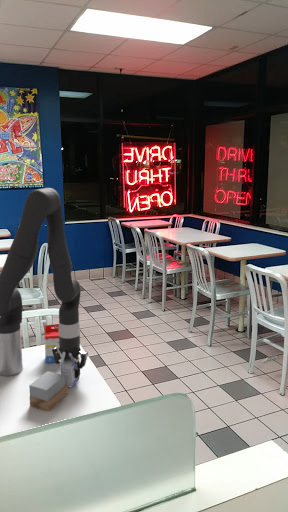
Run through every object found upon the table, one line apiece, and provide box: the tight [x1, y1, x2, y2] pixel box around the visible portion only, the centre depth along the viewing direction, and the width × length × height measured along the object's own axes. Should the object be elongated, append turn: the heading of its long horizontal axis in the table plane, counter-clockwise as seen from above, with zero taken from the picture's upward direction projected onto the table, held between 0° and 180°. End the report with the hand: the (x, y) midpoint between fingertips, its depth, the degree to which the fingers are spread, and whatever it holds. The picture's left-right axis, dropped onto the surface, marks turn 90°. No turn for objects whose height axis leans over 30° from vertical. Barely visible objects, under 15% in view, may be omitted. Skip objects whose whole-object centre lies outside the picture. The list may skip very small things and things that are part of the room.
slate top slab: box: [29, 370, 65, 401], centre depth 134 cm, size 7×10×4 cm
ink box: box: [44, 323, 62, 364], centre depth 162 cm, size 8×5×15 cm, turn 106°
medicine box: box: [59, 359, 81, 388], centre depth 146 cm, size 8×4×9 cm, turn 168°
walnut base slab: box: [29, 384, 69, 412], centre depth 135 cm, size 8×11×4 cm
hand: (70, 375), depth 147 cm, fingers closed on medicine box, 4 cm apart
